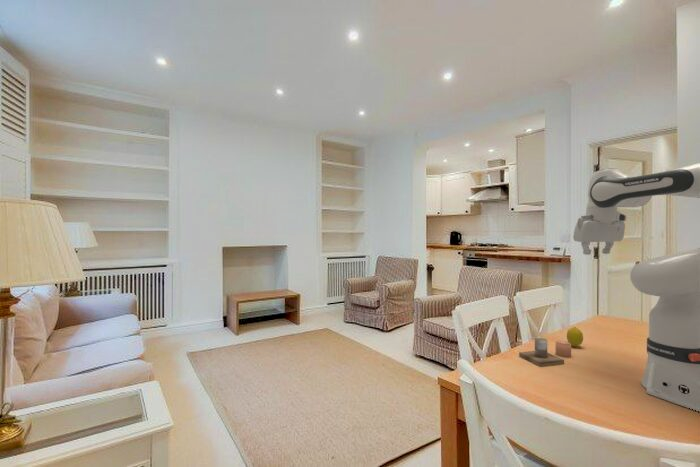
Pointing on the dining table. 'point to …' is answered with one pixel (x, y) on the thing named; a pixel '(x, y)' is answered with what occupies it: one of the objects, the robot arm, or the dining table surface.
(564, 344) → the cap
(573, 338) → the lemon
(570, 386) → the dining table surface
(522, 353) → the stud base
